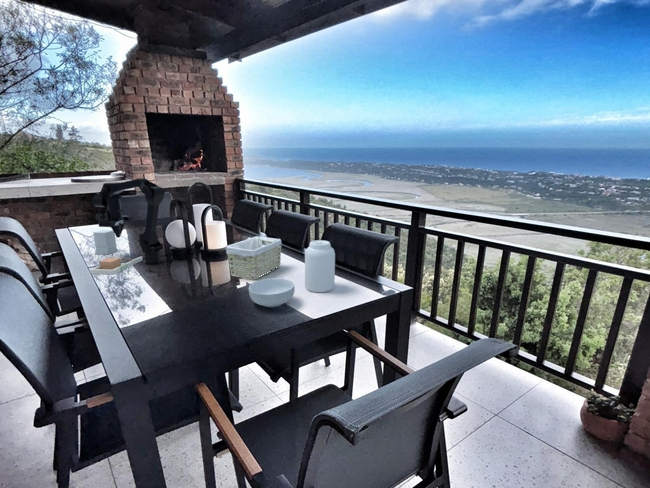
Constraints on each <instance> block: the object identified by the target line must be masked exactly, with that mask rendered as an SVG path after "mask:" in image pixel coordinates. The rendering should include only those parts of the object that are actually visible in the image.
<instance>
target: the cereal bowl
mask: <svg viewBox="0 0 650 488" xmlns="http://www.w3.org/2000/svg"><path fill="white" fill-rule="evenodd" d="M248 292H249V293H248V294H249V296H250V299H251V301H252V302H254V303H255V304H257V305H259V306H263V307H266V308H277V307H280V306H282V305H284V304H285V303H287V302H289V301H290V300H291V299H292V298H293V296H294V294H295V283H294V282H293V281H291V280H289V279H285V278H280V277H278V278H277V277H276V278H275V277H273V278H270V277H269V278H263V279H260V280H259V279H258V280H255V281H254V282H252V283H250V285H249V287H248Z"/></svg>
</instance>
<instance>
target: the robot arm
mask: <svg viewBox="0 0 650 488" xmlns="http://www.w3.org/2000/svg"><path fill="white" fill-rule="evenodd" d="M136 188H139V190H140V192H141V193H142V194H144V197H145V200H146V203H147V211H146V218H145V225H144V231H143V232H141V233H139V235H138V242H139V246H140V248H141V251H142V253H144V254H145V255H144V256H145V263H144V265H158V264H159V265H160V263H163V262H164V259H162V251H161V250H164V249H163V248H164V245H163V244H162V243H161V242H160V240H159V236H158V233H157V225H158V216H159V207H160V204H161V203H162V202H163V200H164V197H165V190H164V188H162V186H160V185H158V184H156V183H154V182H152V181H150V180H148V179H147V178H145V177H141V178H136V179H132V180H126V181H121V182H118V181H117V182H115V181H114V182H105V183H103V184H102V188H101V189H100V192H99V193H94V197H92V201H91V202H92V205H93V206H94V207H95V208H97V207H99V208H107V209H106V210H105V213H100V212H99V213H96V214H95V220H96V221H98V223H97V224H98V227H100V228H111V230H113V231H114V233H115V238H120V237H121V236H122V232H123V231H124V228H125V226H126V225H127V222H132V221H133V216H131V215H122V214H123V213H122V212H124V208H122V205H121V200H122V199H124V197H123V196H122V195H121V194H120V193H122V192H124V191H126V190H131V189H136ZM124 221H127V222H124Z"/></svg>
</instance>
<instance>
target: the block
mask: <svg viewBox="0 0 650 488" xmlns="http://www.w3.org/2000/svg"><path fill="white" fill-rule="evenodd" d="M121 263H122V261H120V258H118V257H107V258H105V259H102V260H100V261H99V266H100V268H101V269H107V270H113V269H115V268H117V267H119V266H121V265H122V264H121Z"/></svg>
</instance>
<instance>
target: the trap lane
mask: <svg viewBox="0 0 650 488" xmlns="http://www.w3.org/2000/svg"><path fill="white" fill-rule="evenodd" d="M117 258H120V261H121V262H123V261H124V262H126V263H124V264H121V266H119V267H117V268H115V269H113V270H107V269H101V268H100V265H98V266H96V267H93V268H91V269H89V272H90V274H91V275H114V276H115V274H118V273H120V272H122V271H124V270H126V269H128V268H129V267H131V266H134V265H136V264H137V263H139V262H141V261H143V256H139V257H136V258H125V255H120V256H119V257H117ZM127 261H128V262H127Z"/></svg>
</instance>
